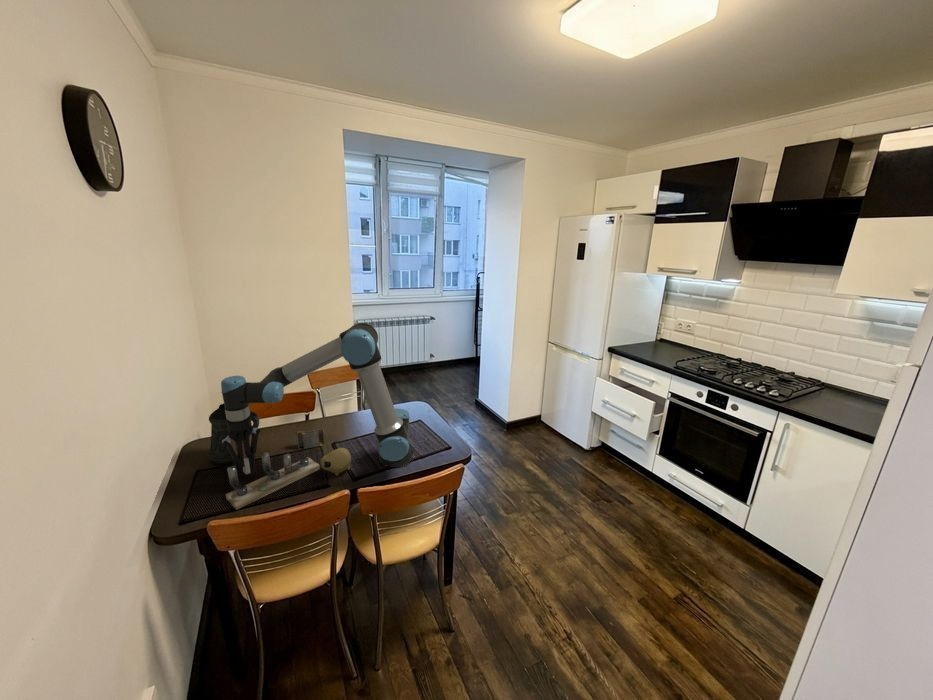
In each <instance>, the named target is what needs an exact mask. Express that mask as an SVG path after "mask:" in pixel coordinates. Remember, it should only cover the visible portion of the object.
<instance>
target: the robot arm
mask: <svg viewBox="0 0 933 700" xmlns="http://www.w3.org/2000/svg"><path fill="white" fill-rule="evenodd" d="M378 341H379V334H378V332H377V330H376V328H375V327H374V326H373V325H372V324H369V323H366V322H358V323H355V324H354V325H352V326H351V327H349V328H348V329H346V330H344V331H342V332H341V333H339V335H338V337H336V338H334V339H332V340H331V341H328V342H327V343H325V344H323V345H320V346H319V347H317V348H315V349H313V350H311V351H309V352H308V353H305V354H304V355H303V354H302V355H301V356H299V357H297V358H296V359H294V360H292V361H289V362H288V363H286V364H284V365H282V366H280V367H279V366H277V367H275V368H274V369H272V370H270V372H268V374H266V376H265V377H264V378H263V379H262V380H260V381H259V382H250V381H249V382H247V381H246V377H244V376H243V375H242V376H241V375H231V376H228V377H225V378H224V379H222V380H221V382H220V385H221V394H222V400H223V403H224V407H225V413H226V419H227V426H228V434H227V435H228V436H227V437H226V438H225V439H222V440H221V442H222V443H224V444H225V445H226V447H227V449H228V451H229V453H230V454H231V456H232V458H233V459H234V460H235V461H238V460H239V465H240V466H241V467H243V472H244V473H245V474H246V475H247V474H249V473H251V472H250V465H249V464H251V463H252V461H251V457H252V454H254V455H255V454H256V453H257V447H258V440H259V435H260V432H261V429H260V428H259V427H258V428H257V427H256V428H253V422H252V420H251V417H250V410H251V409H250V404H274V403H279V402H281V401H282V400H283V397H284V393H285V391H284V388H285V387H286V386H288V385H290V384H292V383H294V382H296V381H298V380H300V379H302V378H303V377H306V376H308V375H310V374H311V373H314V372H316V371H317V370H319V369H322V368H323V367H326V366H327V365H329V364H332V363H333V362H335V361H337V360H339V359H341V358H343V359H344V360H345V361H346V362H348V364H349V367H350V369H351V370H352V371H354V372H356V374H357V376H358V379H359V382H360V384H361V388H362V390H363V393H364V396H365V397H366V398H365V399H366V401H367V404H368V407H369V409H370V413H371V414H372V418H373V420H374V423H375V427H374V430H373V431H374V435H375V437H376V440H377V443H378V446H377V450H378V459H379V460H380V461H379V460H378V461H379V463H380V462H381V463H382V464H384V465H387V466H392V467H399V468H401V467H400V466H403V465H405V464H407V463H409V462H410V461H411V460H412V458H413V459H414V451H413V450H414V449H413V447H412V445H411V443H410V412H409V411H408V410H407V409H403V408H395V406H394V403H393V400H392V398H391V397H392V396H391V395H390V392H389V389H388V385H387V383H386V380H385V377H384V374H383V372H382V368H381V365H380V363H381V361H382V356H381V353H380V350H379V347H378ZM251 433H252V438H251V445H250V444H249V441H250V440H249V436H250V434H251ZM230 438H231V439H232V440H234V441H235V443H236V449H237V455H236V453H235V451H234V449H233V447H232V445H231V444H230V442H231V441H230ZM242 440H243V444H244V450H245V455H246V456H244V455H243V449H242ZM412 461H413V460H412ZM412 461H411V462H412ZM411 462H410V463H411ZM381 463H380V464H381ZM410 463H409V464H410ZM382 464H381V465H382ZM384 465H383V466H384ZM403 467H404V466H403Z"/></svg>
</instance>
